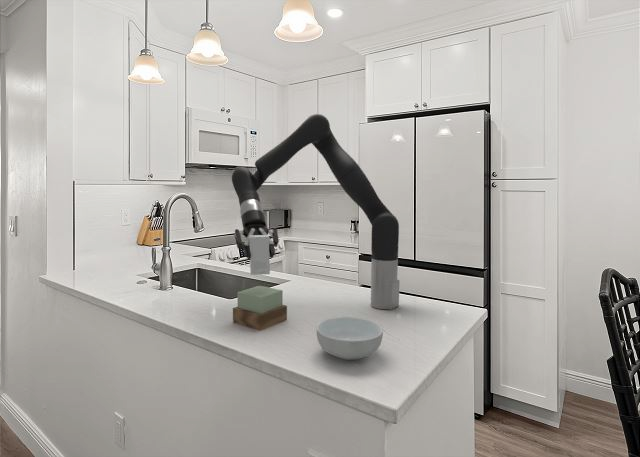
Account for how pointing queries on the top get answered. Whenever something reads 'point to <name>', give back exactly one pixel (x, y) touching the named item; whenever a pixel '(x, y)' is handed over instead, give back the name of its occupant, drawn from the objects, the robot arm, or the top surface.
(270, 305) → the tower top
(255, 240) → the skincare box
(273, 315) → the tower base
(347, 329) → the cereal bowl
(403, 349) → the top surface
